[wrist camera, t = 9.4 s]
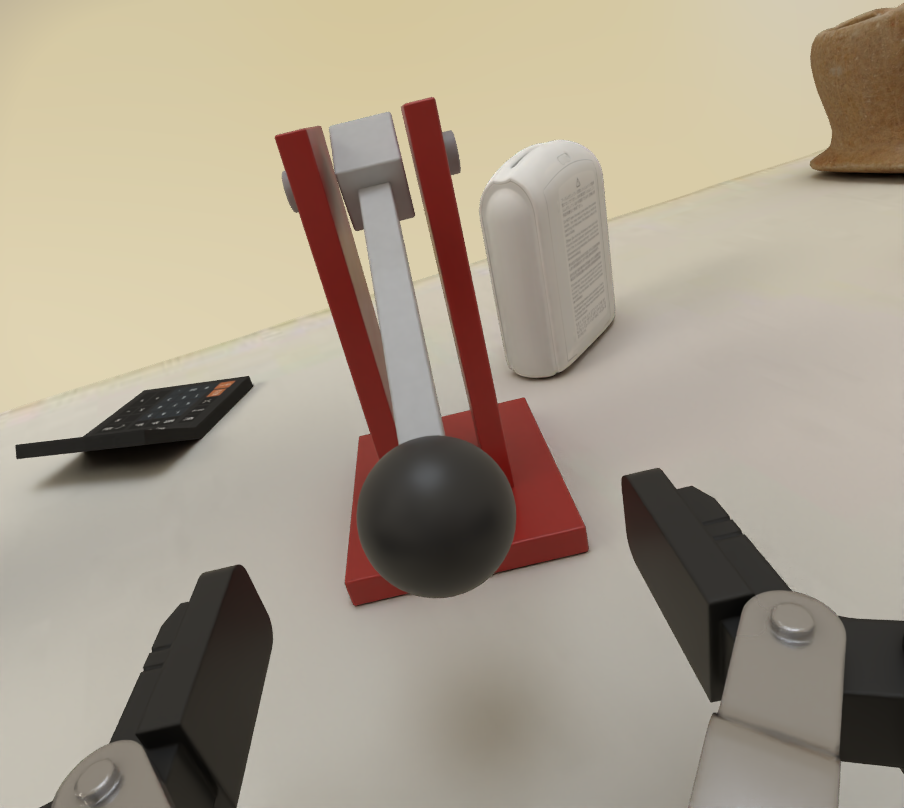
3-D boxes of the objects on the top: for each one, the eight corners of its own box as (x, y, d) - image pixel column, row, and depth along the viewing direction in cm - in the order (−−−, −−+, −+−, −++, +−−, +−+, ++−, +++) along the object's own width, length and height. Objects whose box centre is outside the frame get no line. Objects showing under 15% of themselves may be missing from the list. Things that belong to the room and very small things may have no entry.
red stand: (589, 552, 22) (521, 73, 15) (353, 607, 22) (173, 158, 15) (527, 416, 32) (469, 89, 25) (364, 454, 32) (259, 140, 25)
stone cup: (777, 183, 65) (782, 25, 58) (866, 157, 67) (881, 1, 60) (910, 193, 52) (937, -11, 45) (1017, 160, 54) (1058, -41, 47)
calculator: (253, 386, 45) (238, 349, 43) (162, 477, 35) (139, 433, 33) (149, 399, 47) (131, 365, 46) (36, 488, 37) (9, 448, 36)
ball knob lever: (536, 596, 14) (532, 545, 11) (387, 630, 14) (343, 589, 11) (425, 179, 23) (406, 88, 20) (334, 201, 23) (302, 113, 20)
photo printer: (567, 314, 44) (543, 134, 38) (624, 315, 41) (607, 123, 36) (498, 378, 37) (457, 169, 31) (562, 384, 34) (529, 157, 29)
